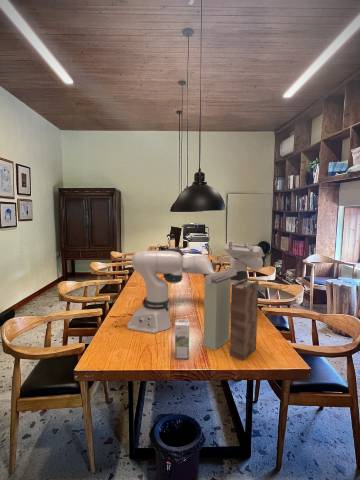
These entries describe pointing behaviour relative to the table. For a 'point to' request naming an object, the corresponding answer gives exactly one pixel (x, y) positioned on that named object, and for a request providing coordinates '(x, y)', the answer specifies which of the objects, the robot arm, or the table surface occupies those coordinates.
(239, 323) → the walnut stand
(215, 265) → the coffeepot
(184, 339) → the syrup box
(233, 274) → the steel bar
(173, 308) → the table surface
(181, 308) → the table surface
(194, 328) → the table surface
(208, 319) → the sage stand
